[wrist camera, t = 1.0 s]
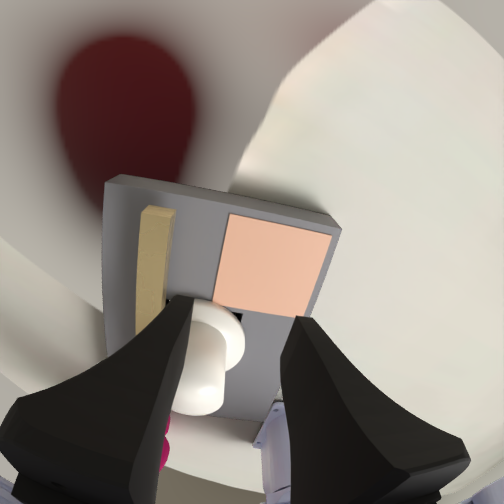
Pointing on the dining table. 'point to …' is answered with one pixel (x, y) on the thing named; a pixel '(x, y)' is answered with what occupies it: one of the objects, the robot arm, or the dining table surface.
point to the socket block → (221, 272)
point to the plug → (208, 358)
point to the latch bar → (153, 262)
